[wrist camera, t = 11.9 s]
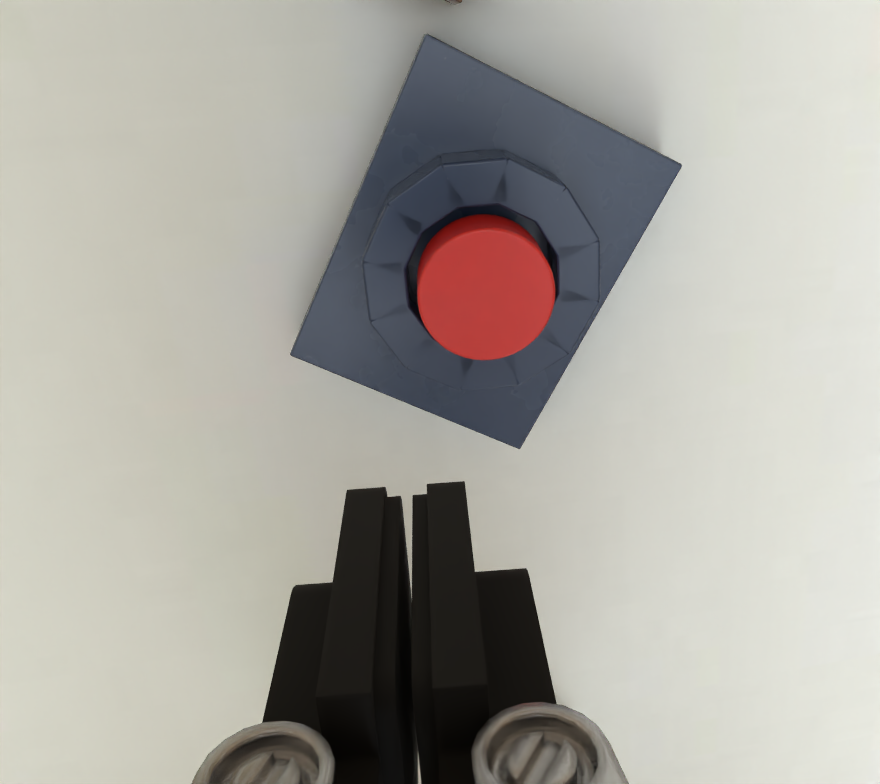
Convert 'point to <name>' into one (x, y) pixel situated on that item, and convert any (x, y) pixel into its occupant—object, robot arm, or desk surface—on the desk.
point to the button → (484, 287)
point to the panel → (454, 1)
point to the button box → (469, 193)
